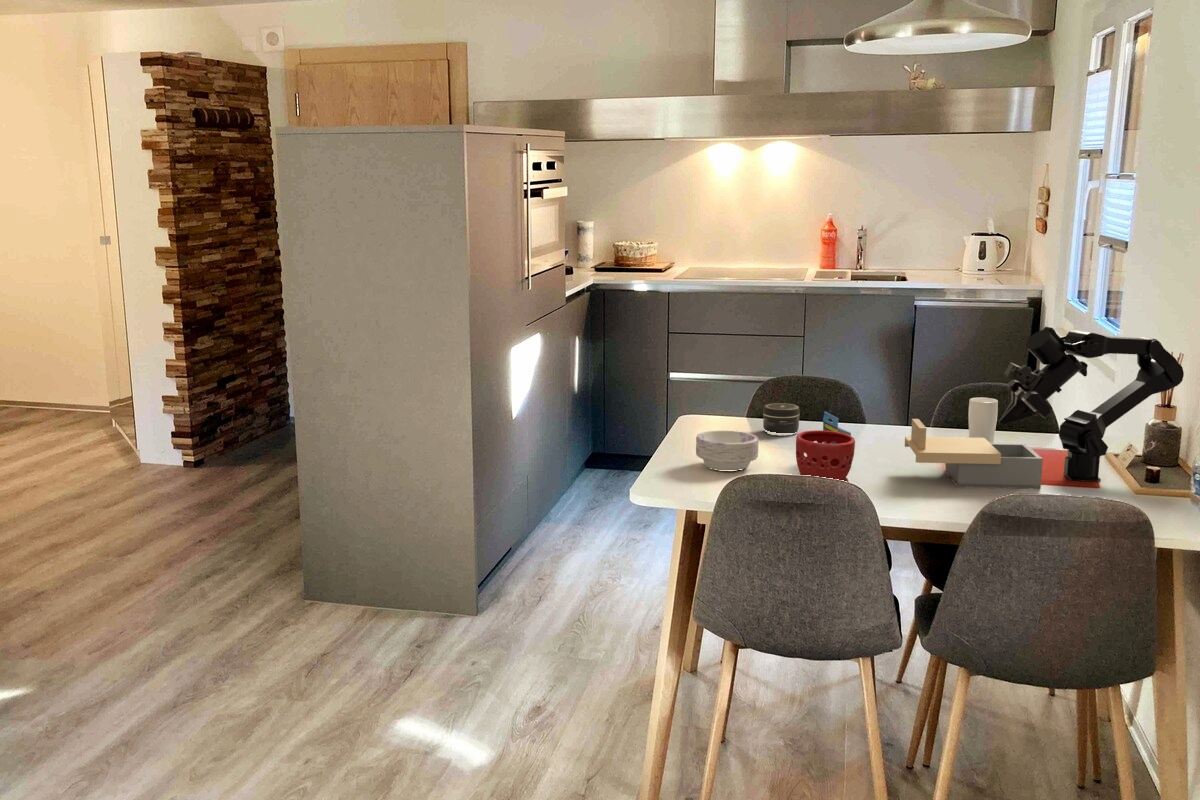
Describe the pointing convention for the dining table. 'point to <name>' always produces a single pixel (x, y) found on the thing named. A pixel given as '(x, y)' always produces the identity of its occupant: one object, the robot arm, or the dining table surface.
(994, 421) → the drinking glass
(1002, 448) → the box
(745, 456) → the paper bowls
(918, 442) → the lid
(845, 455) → the plant pot
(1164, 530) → the dining table surface
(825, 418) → the label tape box
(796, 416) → the jar
